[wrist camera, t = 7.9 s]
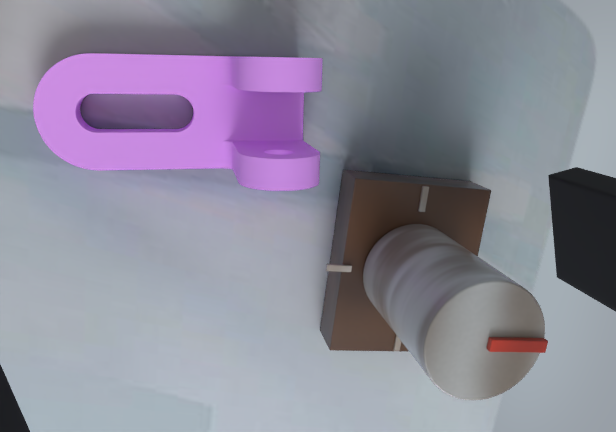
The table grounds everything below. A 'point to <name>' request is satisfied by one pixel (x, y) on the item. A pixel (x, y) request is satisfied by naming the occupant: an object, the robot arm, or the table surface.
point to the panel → (372, 227)
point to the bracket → (205, 122)
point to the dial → (454, 312)
